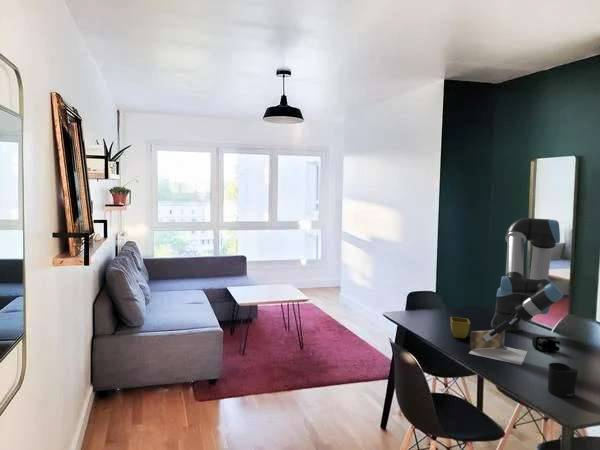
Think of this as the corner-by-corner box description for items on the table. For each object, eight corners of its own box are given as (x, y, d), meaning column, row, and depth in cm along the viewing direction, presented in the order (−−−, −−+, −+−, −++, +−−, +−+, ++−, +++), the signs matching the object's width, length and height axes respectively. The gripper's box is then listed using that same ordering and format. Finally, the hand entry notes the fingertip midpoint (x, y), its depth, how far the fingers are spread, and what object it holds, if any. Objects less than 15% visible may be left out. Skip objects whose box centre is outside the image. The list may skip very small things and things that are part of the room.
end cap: (550, 348, 228) (551, 335, 227) (560, 353, 221) (561, 339, 220) (531, 348, 227) (532, 334, 226) (540, 353, 220) (541, 339, 219)
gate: (501, 345, 225) (503, 327, 225) (504, 347, 223) (506, 329, 223) (469, 348, 219) (470, 329, 219) (472, 349, 218) (473, 330, 217)
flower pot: (469, 340, 234) (470, 323, 233) (450, 338, 236) (452, 321, 235) (466, 335, 243) (467, 318, 242) (449, 333, 244) (450, 316, 244)
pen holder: (548, 395, 172) (550, 369, 172) (545, 386, 181) (547, 360, 180) (577, 400, 169) (580, 374, 168) (572, 390, 178) (575, 365, 177)
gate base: (478, 342, 232) (478, 340, 232) (527, 352, 221) (527, 350, 221) (468, 354, 214) (468, 352, 214) (521, 365, 202) (521, 364, 202)
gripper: (532, 319, 200) (487, 349, 210) (535, 313, 211) (493, 341, 221) (519, 305, 202) (476, 335, 212) (523, 300, 213) (482, 328, 223)
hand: (485, 338), depth 217 cm, fingers closed
